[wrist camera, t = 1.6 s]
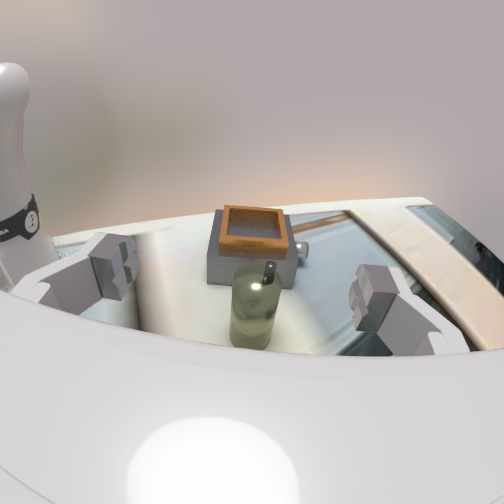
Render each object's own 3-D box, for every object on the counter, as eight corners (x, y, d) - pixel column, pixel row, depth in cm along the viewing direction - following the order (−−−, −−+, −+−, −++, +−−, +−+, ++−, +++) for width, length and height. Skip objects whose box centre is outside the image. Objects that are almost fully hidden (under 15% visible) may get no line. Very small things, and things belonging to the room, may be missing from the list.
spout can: (228, 351, 37) (232, 279, 28) (230, 319, 41) (235, 246, 33) (270, 353, 37) (288, 283, 29) (268, 321, 41) (283, 249, 33)
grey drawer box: (207, 283, 46) (206, 244, 42) (215, 235, 58) (216, 200, 53) (308, 289, 47) (320, 252, 43) (298, 241, 59) (305, 207, 54)
